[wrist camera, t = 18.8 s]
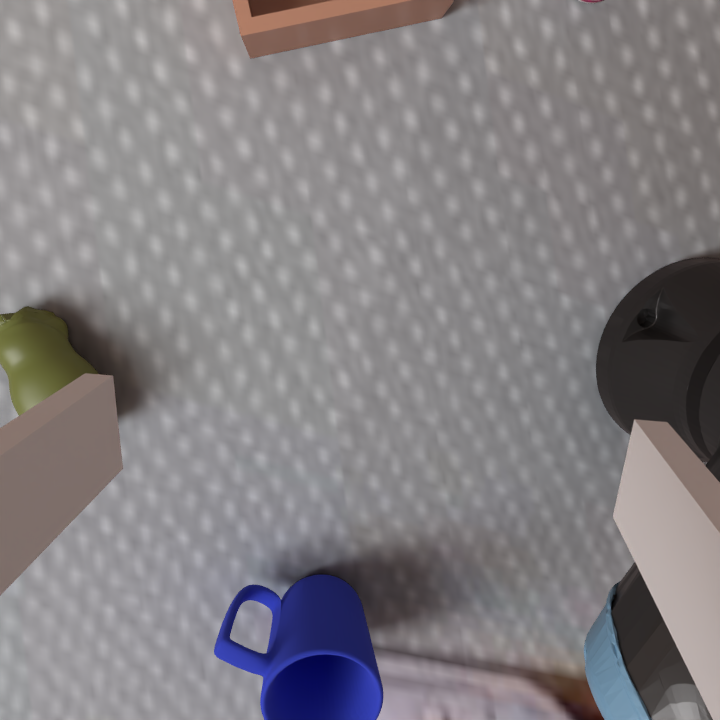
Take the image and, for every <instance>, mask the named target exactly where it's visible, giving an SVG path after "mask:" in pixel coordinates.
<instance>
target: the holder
mask: <svg viewBox="0 0 720 720" xmlns="http://www.w3.org/2000/svg"><path fill="white" fill-rule="evenodd" d="M453 2H454V0H233V4H234V9H235V13H236V17H237V21H238V25H239V30H240V34H241V37H242V40H243V42H244V44H245V47H246V49H247V51H248V54H249V56H250V59H251V58H255V57H260V56H265V55H270V54H274V53H279V52H284V51H289V50H293V49H298V48H303V47H308V46H312V45H317V44H322V43H327V42H331V41H336V40H341V39H346V38H350V37H355V36H360V35H365V34H369V33H374V32H379V31H384V30H388V29H393V28H398V27H402V26H407V25H412V24H417V23H421V22H426V21H431V20H436V19H440V18H442V17H443V15H444V14H445V13H446V11H447V10H448V9H449V7H450V6H451V5H452V3H453Z"/></svg>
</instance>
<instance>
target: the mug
mask: <svg viewBox="0 0 720 720" xmlns="http://www.w3.org/2000/svg"><path fill="white" fill-rule="evenodd" d="M247 600H254V601H258V602H260V603H262V604H264V605H266V606H267V607H269V608H270V609H271V611H272V614H273V619H272V627H271V633H270V639H269V645H268V649H267V653H266V654H262V653H258V652H256V651H253V650H251V649H248V648H246V647H244V646H242V645H240V644H238V643H236V642H234V641H232V640H231V639H230V633H231V629H232V626H233V622H234V619H235V616H236V614H237V611H238V609H239V607H240V605H241V604H242V603H243V602H245V601H247ZM214 654H215V655H216V656H217V657H218V658H219V659H221V660H223V661H225V662H227V663H229V664H231V665H233V666H236V667H238V668H241V669H243V670H245V671H248V672H251V673H254V674H258V675H261V676H263V686H262V692H261V710H262V714H263V717H264V720H376V719H377V718H378V716H379V713H380V711H381V708H382V703H383V687H382V683H381V679H380V675H379V671H378V667H377V663H376V659H375V655H374V651H373V647H372V643H371V638H370V634H369V630H368V626H367V622H366V618H365V614H364V610H363V607H362V603H361V601H360V599H359V597H358V595H357V593H356V592H355V590H354V589H353V588H352V587H351V586H350V585H349V584H348V583H346V582H345V581H344V580H342V579H340V578H337V577H334V576H331V575H312V576H308V577H305V578H303V579H301V580H299V581H297V582H296V583H295V584H294V585H292V586H291V587H290V588H289V589H288V591H287V592H286V593H285V595H284V596H283V598H282V600H280V598H279V596H278V595H277V594H276V593H275V592H273V591H272V590H270V589H268V588H266V587H263V586H260V585H249V586H246V587H244V588H243V589H242V590H241V591H240V592H239V593H238V594H237V595H236V597H235V598H234V600H233V601H232V603H231V605H230V607H229V609H228V611H227V613H226V616H225V618H224V620H223V623H222V626H221V629H220V632H219V635H218V638H217V641H216V644H215V649H214Z"/></svg>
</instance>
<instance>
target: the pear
mask: <svg viewBox="0 0 720 720" xmlns="http://www.w3.org/2000/svg"><path fill="white" fill-rule="evenodd" d="M2 317H3V318H2ZM3 319H4V320H5V322H4V320H3ZM0 364H1V365H2V367H3V368H4V370H5V371H6V373H7V375H8V379H9V388H10V395H11V399H12V403H13V405H14V407H15V409H16V411H17V413H18V415H19V416H20V415H22V414H23V413H25V412H26V411H28V410H29V409H31V408H32V407H34V406H35V405H37V404H38V403H40V402H42V401H43V400H45V399H46V398H48V397H49V396H51V395H52V394H54V393H55V392H57V391H59V390H60V389H62V388H63V387H65V386H66V385H68V384H69V383H71V382H72V381H74V380H76V379H77V378H79V377H80V376H82V375H83V374H85V373H88V374H98V372H97V371H96V370H95V369H94V368H93V366H92V365H91V364H90V363H88V362H87V361H86V360H85V359H84V358H82V357H81V356H80V355H78V354H77V353H76V352H75V351H74V349H73V348H72V346H71V345H70V343H69V341H68V327H67V325H66V323H65V322H64V321H63V320H62V319H61V318H59V317H56V316H55V314H54V313H53V312H49V311H46V310H37V309H34V308H32V307H29V306H26V307H24V308H22V309H21V310H19V311H18V312H16V313H12V314H11V313H9V314H8V313H7V314H2V316H1V315H0Z"/></svg>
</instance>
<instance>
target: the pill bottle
mask: <svg viewBox="0 0 720 720" xmlns="http://www.w3.org/2000/svg"><path fill="white" fill-rule="evenodd" d="M578 1H580V2H584V3H597V2H601V1H604V0H578Z"/></svg>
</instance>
